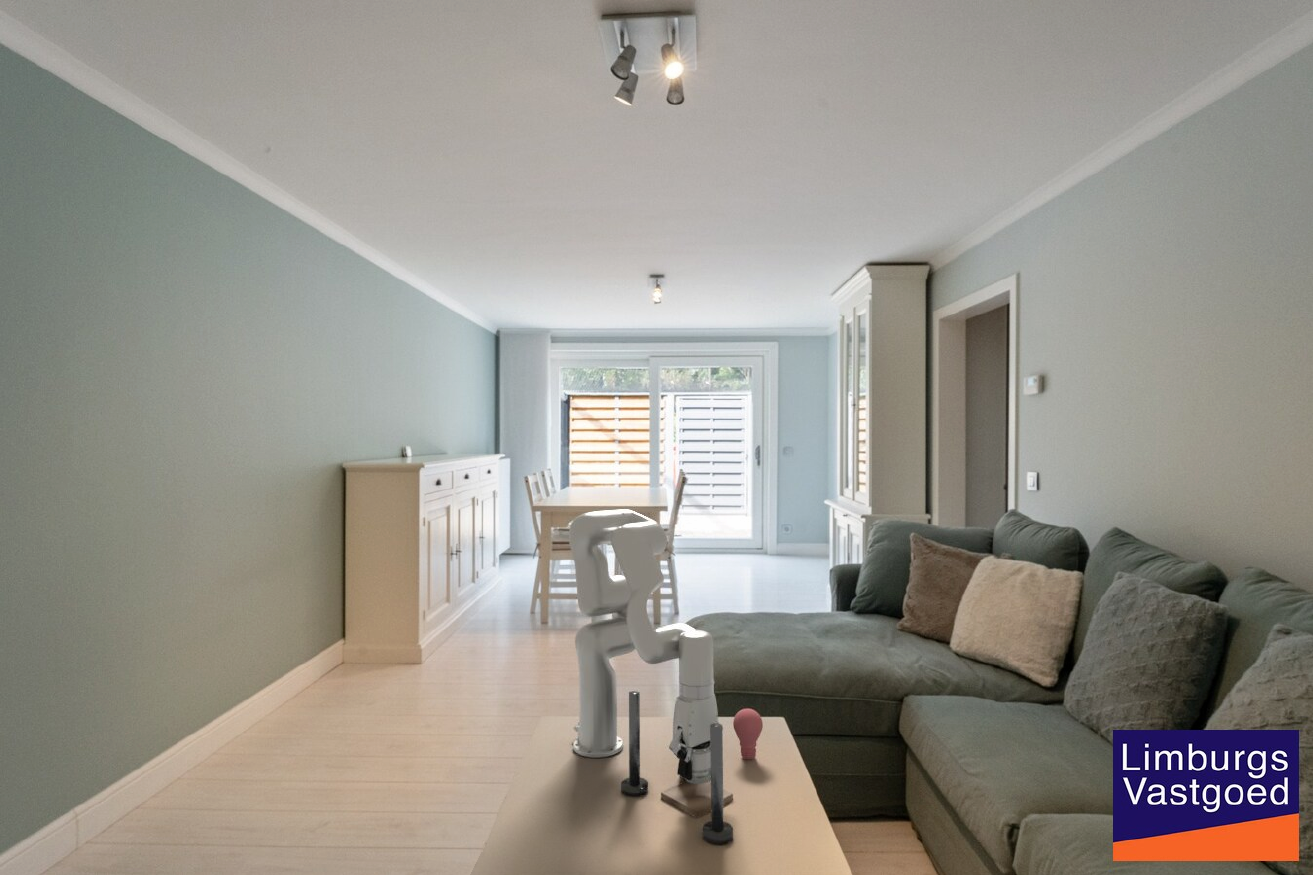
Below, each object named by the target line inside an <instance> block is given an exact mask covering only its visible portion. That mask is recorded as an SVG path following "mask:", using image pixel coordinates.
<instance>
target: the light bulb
mask: <svg viewBox="0 0 1313 875" xmlns="http://www.w3.org/2000/svg"><path fill="white" fill-rule="evenodd" d="M732 723H733V729H734V732H735V734H736V736H737V738H738V739H739V747H740V754H741V757H742V758H743V759H746V760H753V759H755V758H756V757H757V756H756V755H757V742H758V739H759V737H760V736H761V733H762V731H763V726H764V725H763V719H762V716H761V715H760V713H758V712H757V711H756V710H755V709H752V708H743V709H741V710H738V712H737V713H736V714H735V716H734V718H733V722H732Z"/></svg>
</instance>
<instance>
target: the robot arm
mask: <svg viewBox="0 0 1313 875" xmlns="http://www.w3.org/2000/svg"><path fill="white" fill-rule="evenodd" d="M569 526H570V527H569V530H568V543H569V548H570V552H571V555H572V558H573V562H574V568H575V570H574V571H575V584H576V594H577V596H576V598H577V605H578V609H579V611H580V614H582V615H583V616H584V617H587V618H595V617H601V616H606V615H610V614H612V618H610V619H609V618H608V619H603V620H598V621H595V622H594V621H593V622H590V623H587V624H585V625H583V626H582V627H580V628H579V630H578V631H577V632H576V634H575V639H574V644H575V651H576V658H577V664H578V678H579V681H578V683H579V684H578V686H579V688H578V691H579V692H578V693H579V697H578V698H579V700H578V702H579V704H578V706H579V707H578V709H579V712H578V713H579V715H578V716H579V719H578V720H579V721H578V723H577V725H576V724H575V725H574V726H573V731H574V732H577V738H576V739H575V740H574V742H573V745H572V746H573V748H572V749H573V751H574V752H575V753H576V754H577V755H579V756H582V757H586V758H594V759H595V758H597V759H598V758H607V757H611V756H613V755H616V754H618V753H620V752H621V751H622V750H623V748H624V741H623V739H622V738H621V737H620V736H618V692H617V690H618V681H617V680H618V679H617V674H616V670H615V669H614V668H613V666H612V665H611V663H610V659H613V658H615V657H619V656H623V655H627V654H630V653H633V652H635V651H636V652H637V654H638V655H639V658H640V659H642V661H644V663H647V664H648V665H659V664H663V663H665V662H669V661H673V660H676V659H678V689H679V690H678V696H677V697H676V699H675V704H674V710H673V719H672V720H673V722H672V739H671V741H670V744H669V745H668V749H669V750H670V751H671V752H672V753H673V754H674V755H675V756H676V758H677V759H678V764H679V772H680V775H679V776H680V777H681V778H682V779H684V780H685V779H687V780H691V779H692V761H690V756H691V752H692V748H693V747H695V746H697V745H700V744H702V743H705V742H707V741H709V742H710V725H711V724H714V723H718V724H720V722H719V715H718V706H717V700H716V694H715V693H714V688H715V686H714V685H715V684H716V683H715V679H714V639H713V636H712V634H711V633H710V632H708V631H706V630H702V629H695V628H694V627H693V626H690V625H689V624H687V623H684V622H675V623H671V624H666V625H663V626H658V627H654V628H653V625H652V622H651V621H650V618H649V614H648V610H647V609H648V608H647V604H648V600H649V598H650V595H651V594H653V593H654V592H655V591H657V590H658V589H659V588H660V587H661V586H662V585H663V584H664V581H665V577H664V574H663V572H662V571H663V570H662V569H661V567H660V565H659V563H658V561H657V558H656V556H657V555H658V556H659V555H661V554H662V553H663V552H665V550H666V549H667V546H668V538H667V534H666V531H665V530H664V528H663V526H662V525H660V523H658V522H657V521H656V520H654V519H651V518H649V517H647V516H644V515H643V514H640V513H638V512H636V511H633V510H631V509H626V508H624V509H611V510H610V509H609V510H597V511H589V512H585V513H582V514H580V515H578V516H576V517H575V518H574V519H573V520H572V522H571V524H570V525H569ZM609 544H611V546H612V550H613V552H614V555H615V557H616V559H617V561H618V564H619V567H620V569H621V571H622V574H623V575H620V574H615V575H610V574H609V573H610V572H609V563H608V559H607V556H606V555H605V553H604V551H603V550H602V548H600V545H609ZM723 730H724V727H723V726H722V731H723ZM684 748H687V749H686V753H684Z"/></svg>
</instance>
